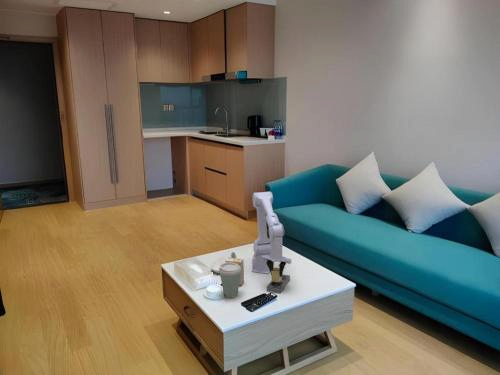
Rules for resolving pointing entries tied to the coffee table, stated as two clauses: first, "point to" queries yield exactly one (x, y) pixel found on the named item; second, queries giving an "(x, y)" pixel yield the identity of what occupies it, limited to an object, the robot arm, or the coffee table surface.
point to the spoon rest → (222, 261)
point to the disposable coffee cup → (230, 278)
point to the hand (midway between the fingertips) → (276, 275)
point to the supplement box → (241, 264)
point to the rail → (278, 284)
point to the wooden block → (275, 275)
